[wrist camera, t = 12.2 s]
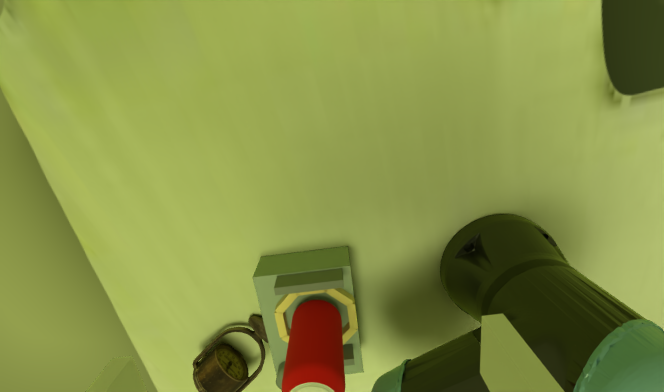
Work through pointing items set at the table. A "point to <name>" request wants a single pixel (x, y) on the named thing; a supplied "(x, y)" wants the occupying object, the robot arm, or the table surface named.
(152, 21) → the table surface
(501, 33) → the table surface
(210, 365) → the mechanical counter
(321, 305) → the beverage can
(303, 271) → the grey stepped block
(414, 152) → the table surface
